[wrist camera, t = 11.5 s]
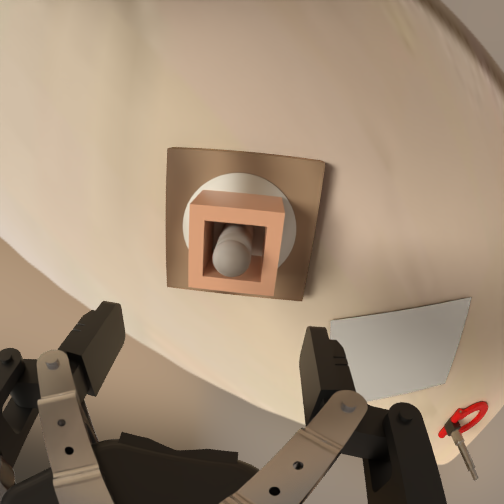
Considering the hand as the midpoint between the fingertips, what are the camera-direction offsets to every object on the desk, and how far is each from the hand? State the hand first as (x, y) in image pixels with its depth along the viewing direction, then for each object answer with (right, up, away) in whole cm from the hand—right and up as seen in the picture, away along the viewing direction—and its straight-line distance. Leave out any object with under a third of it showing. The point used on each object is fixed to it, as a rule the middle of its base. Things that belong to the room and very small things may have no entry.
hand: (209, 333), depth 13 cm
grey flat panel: (+22, -4, +17) cm, 28 cm away
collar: (+1, +5, +12) cm, 13 cm away
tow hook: (+38, -25, +25) cm, 52 cm away
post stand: (+1, +6, +13) cm, 15 cm away
